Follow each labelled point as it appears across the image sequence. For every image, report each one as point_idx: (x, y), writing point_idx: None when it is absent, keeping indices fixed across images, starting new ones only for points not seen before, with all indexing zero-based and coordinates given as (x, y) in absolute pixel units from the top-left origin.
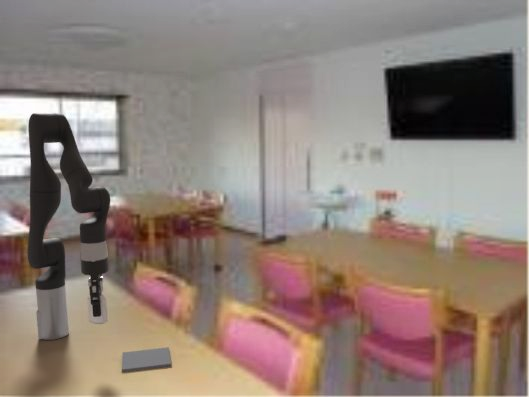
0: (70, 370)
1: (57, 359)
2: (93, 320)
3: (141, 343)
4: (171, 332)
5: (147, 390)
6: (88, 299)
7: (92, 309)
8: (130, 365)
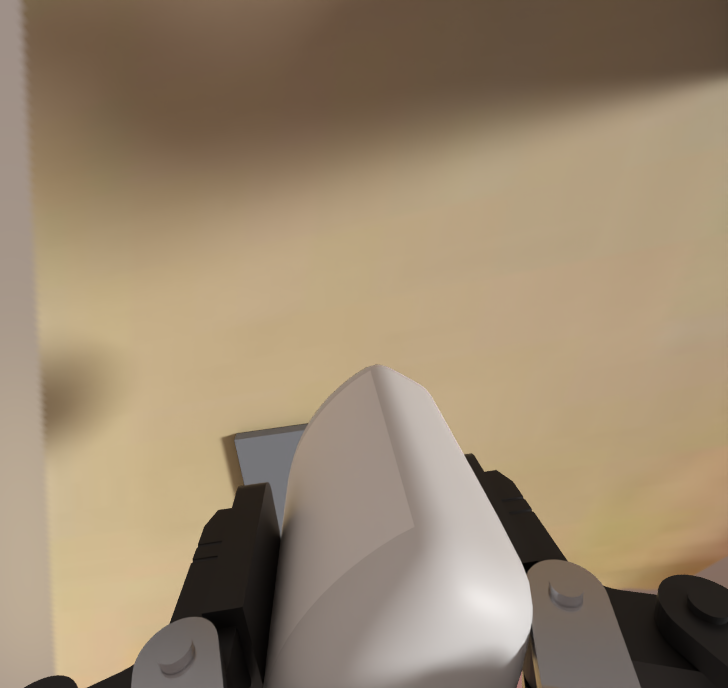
0: (284, 187)
1: (439, 75)
2: (313, 429)
3: (523, 464)
4: (599, 557)
5: (66, 549)
6: (384, 554)
7: (311, 504)
8: (273, 468)
